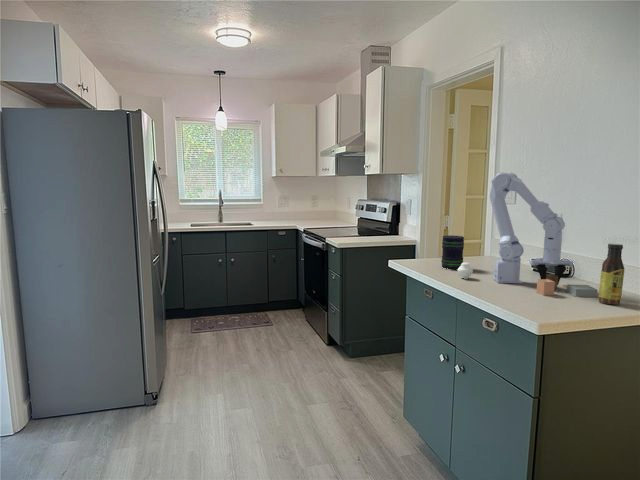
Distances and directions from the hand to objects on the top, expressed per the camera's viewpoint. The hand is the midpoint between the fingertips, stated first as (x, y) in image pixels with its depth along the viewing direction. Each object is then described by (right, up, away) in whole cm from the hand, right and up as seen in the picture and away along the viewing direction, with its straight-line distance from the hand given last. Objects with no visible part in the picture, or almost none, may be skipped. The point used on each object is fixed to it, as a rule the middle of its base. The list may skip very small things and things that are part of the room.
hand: (549, 284), depth 161 cm
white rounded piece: (-27, +1, +16) cm, 31 cm away
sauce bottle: (+9, -4, -20) cm, 23 cm away
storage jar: (-25, +3, +38) cm, 46 cm away
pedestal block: (+7, -3, -9) cm, 11 cm away
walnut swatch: (+9, -1, +1) cm, 9 cm away
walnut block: (0, -1, 0) cm, 2 cm away
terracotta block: (-6, -3, -9) cm, 11 cm away
